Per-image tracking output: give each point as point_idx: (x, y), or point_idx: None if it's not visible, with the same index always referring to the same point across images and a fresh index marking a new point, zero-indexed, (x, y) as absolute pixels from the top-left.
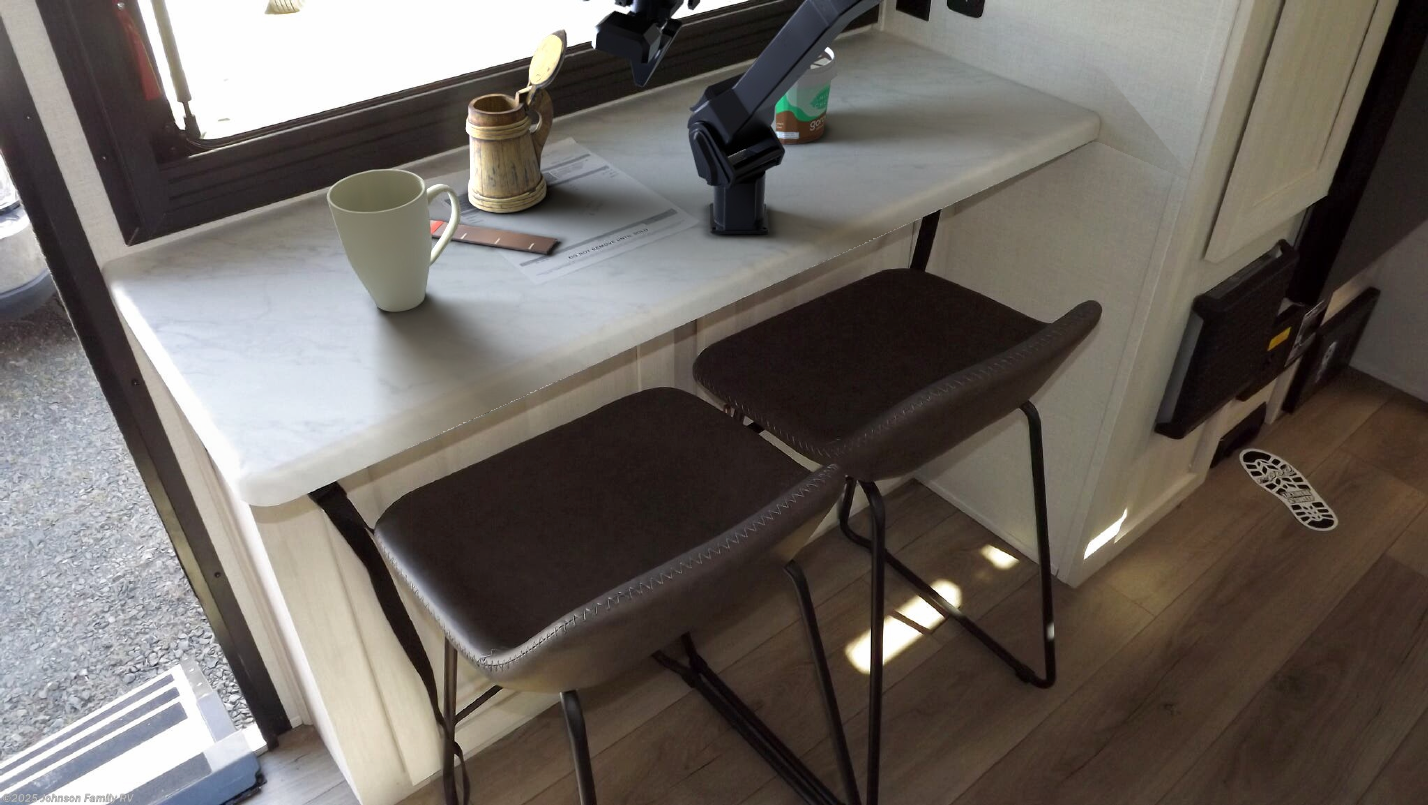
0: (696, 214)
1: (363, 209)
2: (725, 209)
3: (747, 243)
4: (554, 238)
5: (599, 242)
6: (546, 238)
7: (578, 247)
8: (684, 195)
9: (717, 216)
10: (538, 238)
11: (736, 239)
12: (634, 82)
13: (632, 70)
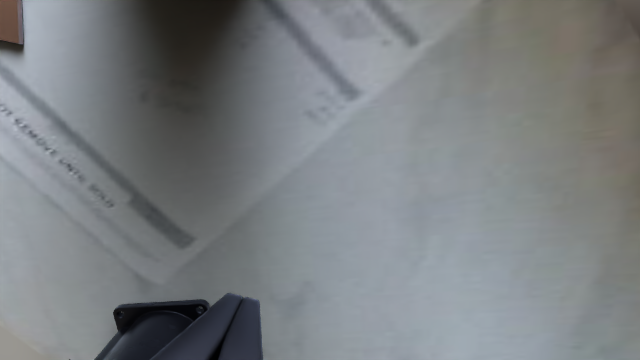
0: (183, 278)
1: None
2: (95, 358)
3: None
4: (17, 38)
5: (44, 128)
6: (12, 21)
7: (15, 92)
8: (248, 255)
9: (133, 325)
10: (6, 3)
11: None
12: (224, 296)
13: (172, 341)
